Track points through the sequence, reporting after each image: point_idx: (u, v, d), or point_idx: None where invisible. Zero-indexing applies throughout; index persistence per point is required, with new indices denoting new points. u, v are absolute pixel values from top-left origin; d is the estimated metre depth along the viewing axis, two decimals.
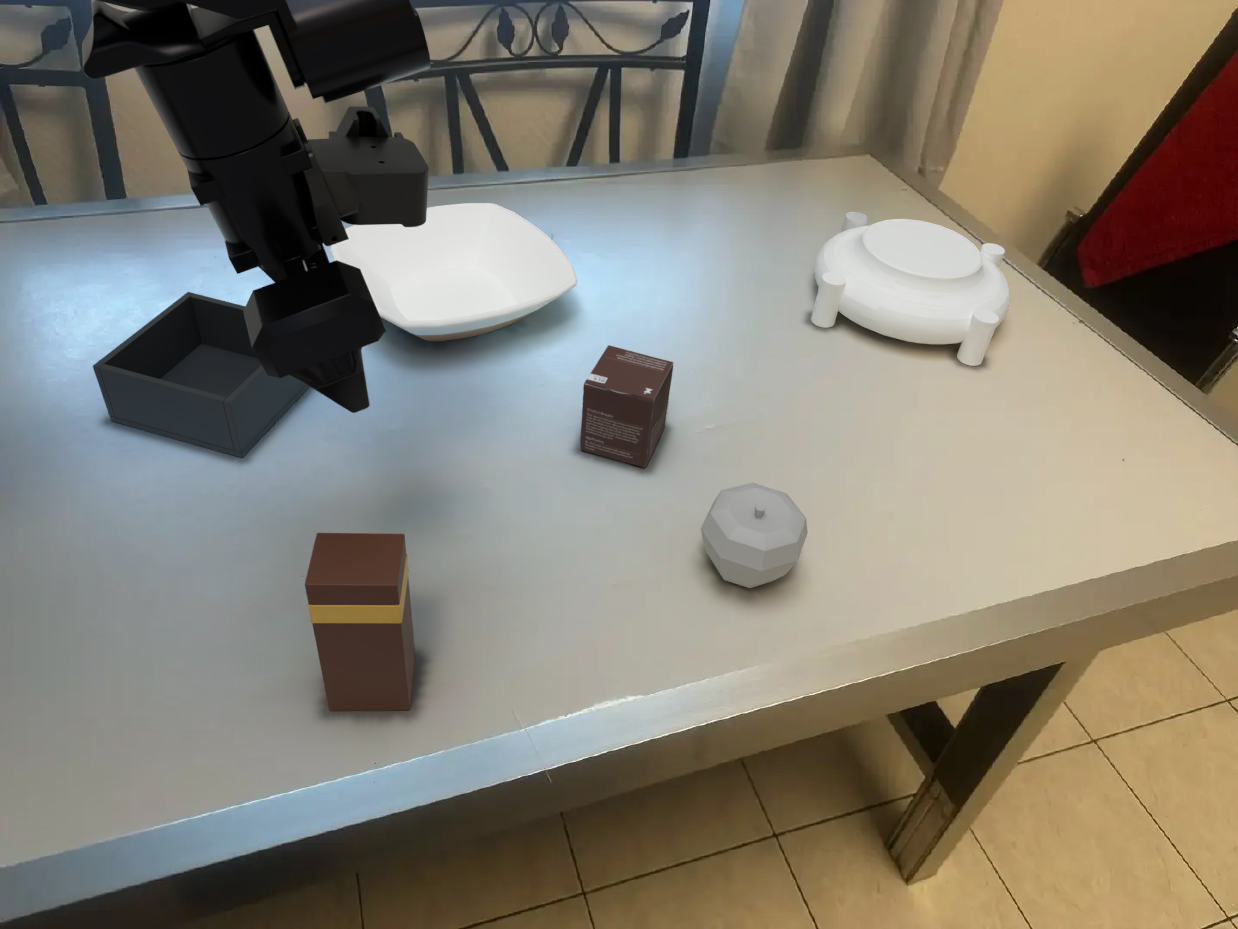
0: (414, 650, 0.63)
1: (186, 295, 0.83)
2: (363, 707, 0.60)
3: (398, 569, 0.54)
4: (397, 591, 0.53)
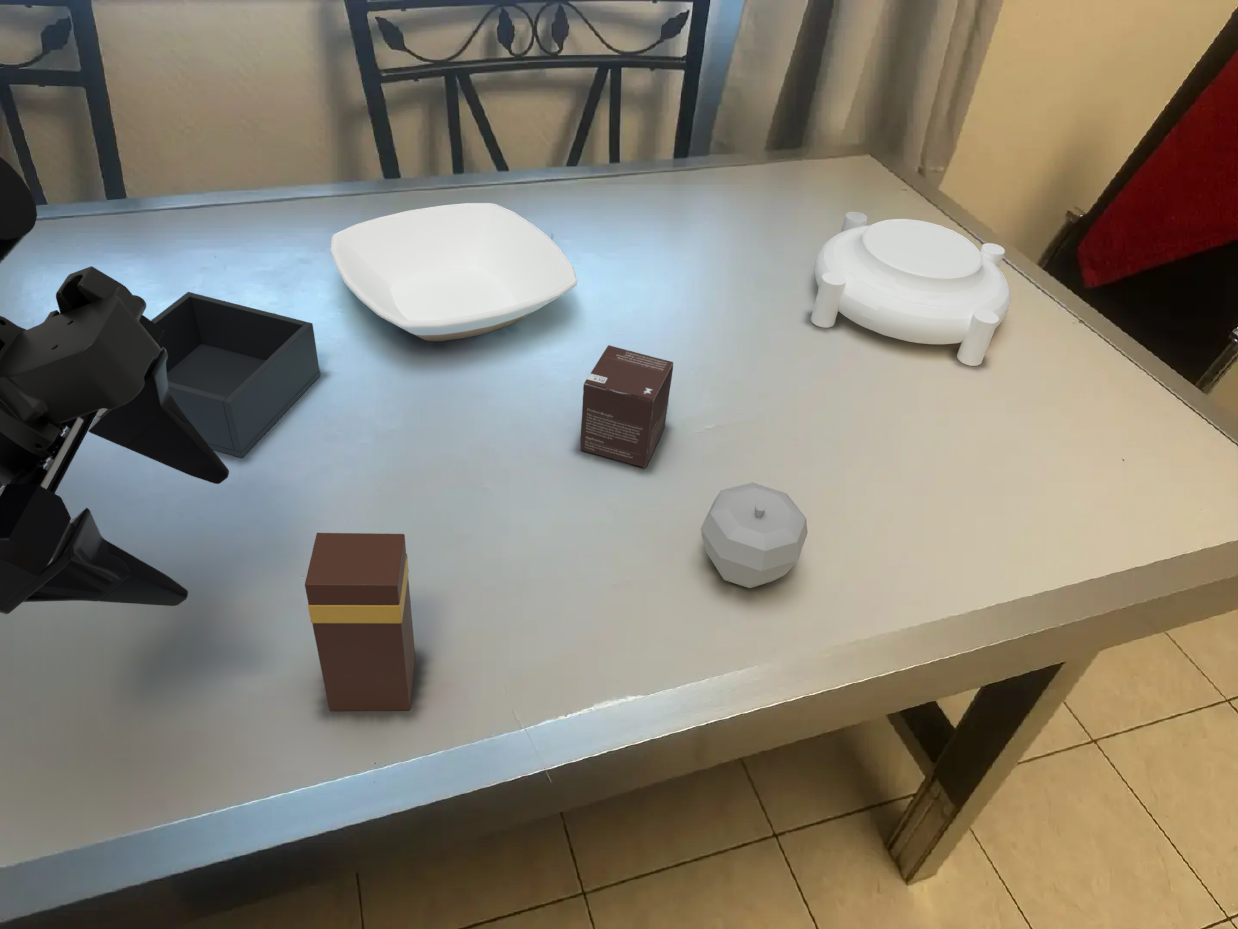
0: (414, 650, 0.63)
1: (186, 295, 0.83)
2: (363, 707, 0.60)
3: (398, 569, 0.54)
4: (397, 591, 0.53)
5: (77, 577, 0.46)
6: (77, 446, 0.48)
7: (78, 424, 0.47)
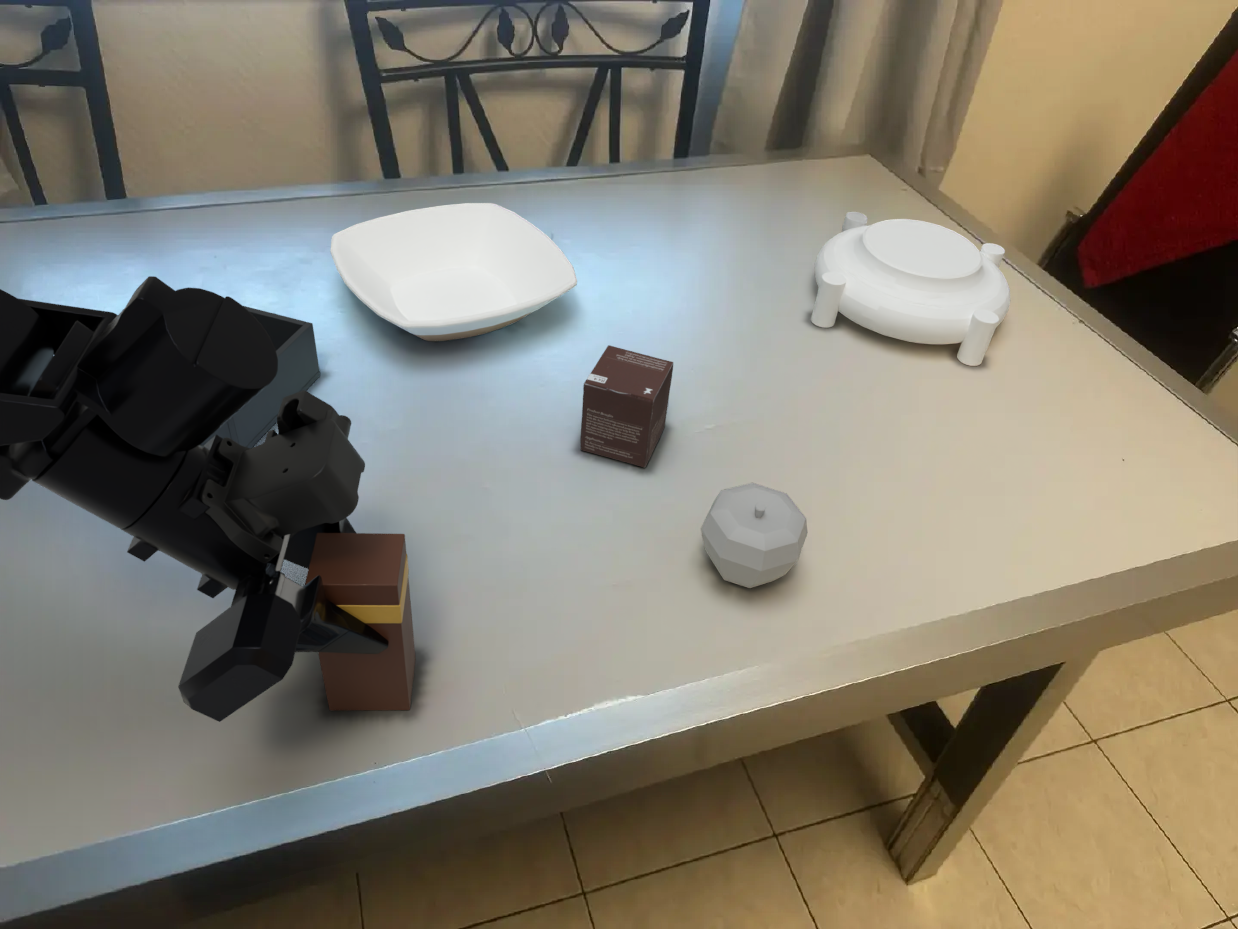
0: (414, 650, 0.63)
1: None
2: (363, 707, 0.60)
3: (398, 569, 0.54)
4: (397, 591, 0.53)
5: (304, 632, 0.53)
6: (285, 547, 0.53)
7: None
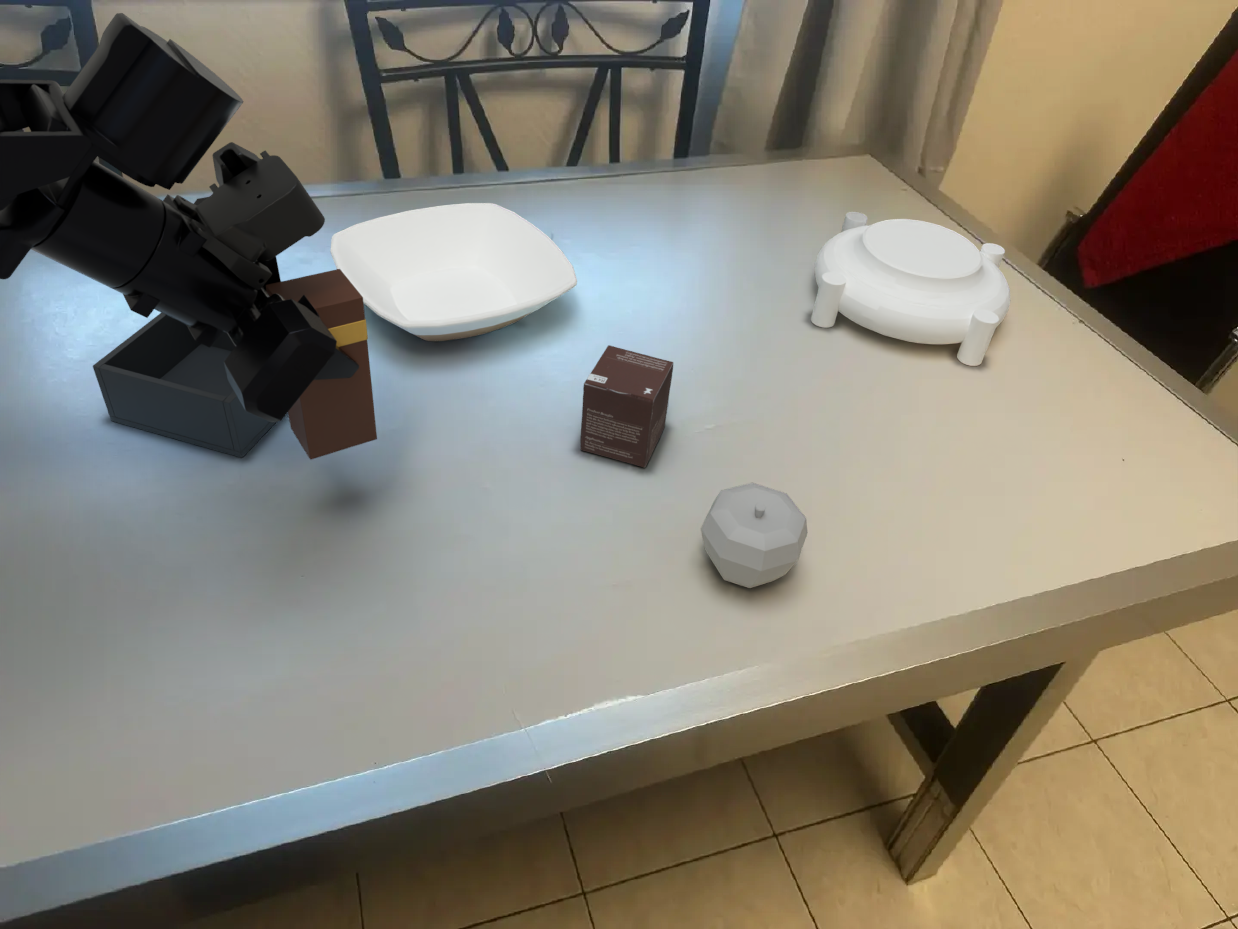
0: None
1: None
2: (338, 447, 0.68)
3: (355, 288, 0.62)
4: (363, 304, 0.62)
5: None
6: None
7: None
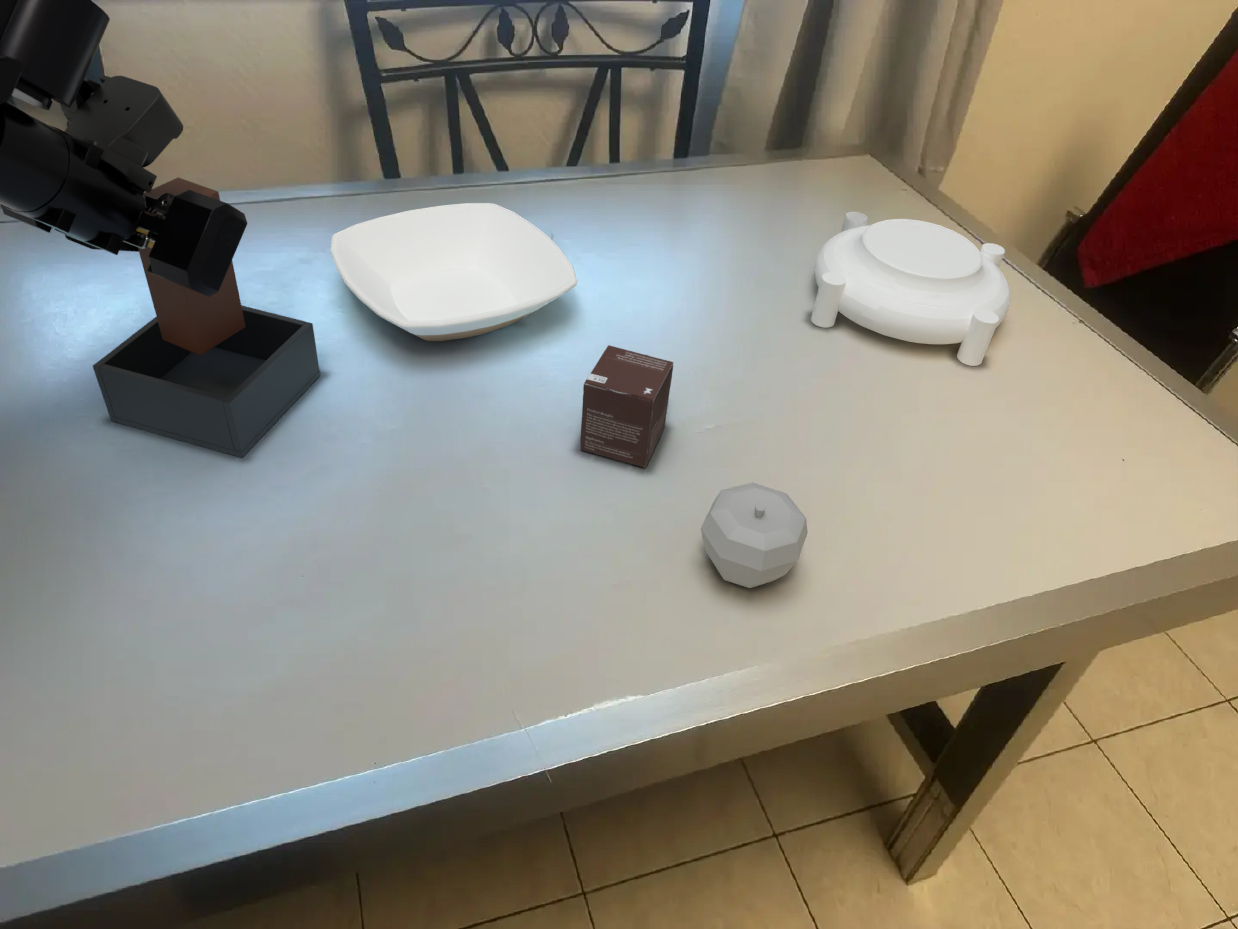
0: None
1: None
2: (219, 339, 0.77)
3: (205, 187, 0.71)
4: (219, 198, 0.72)
5: None
6: None
7: None
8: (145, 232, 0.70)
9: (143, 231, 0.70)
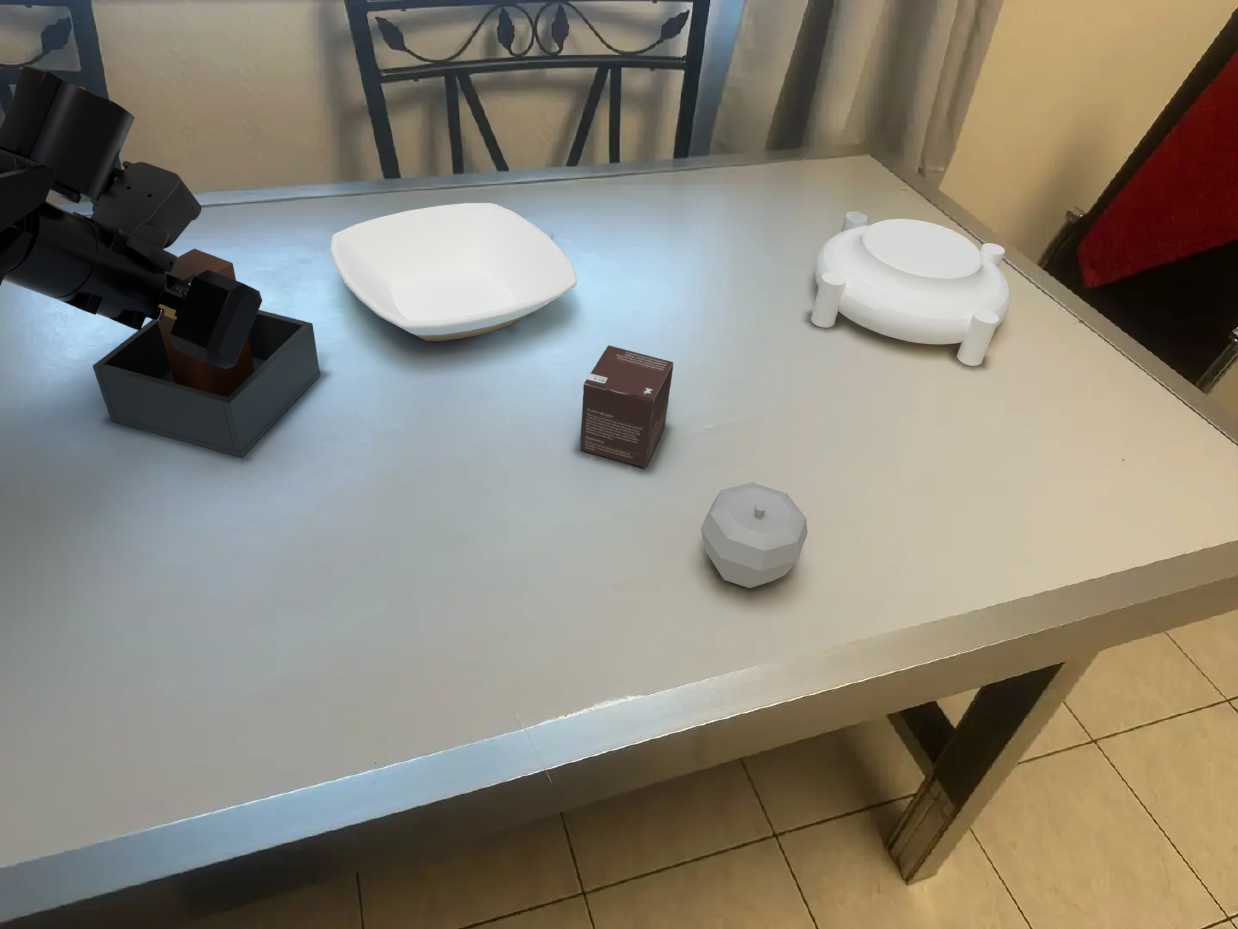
0: None
1: None
2: None
3: (220, 258, 0.75)
4: (233, 269, 0.75)
5: None
6: None
7: None
8: None
9: None
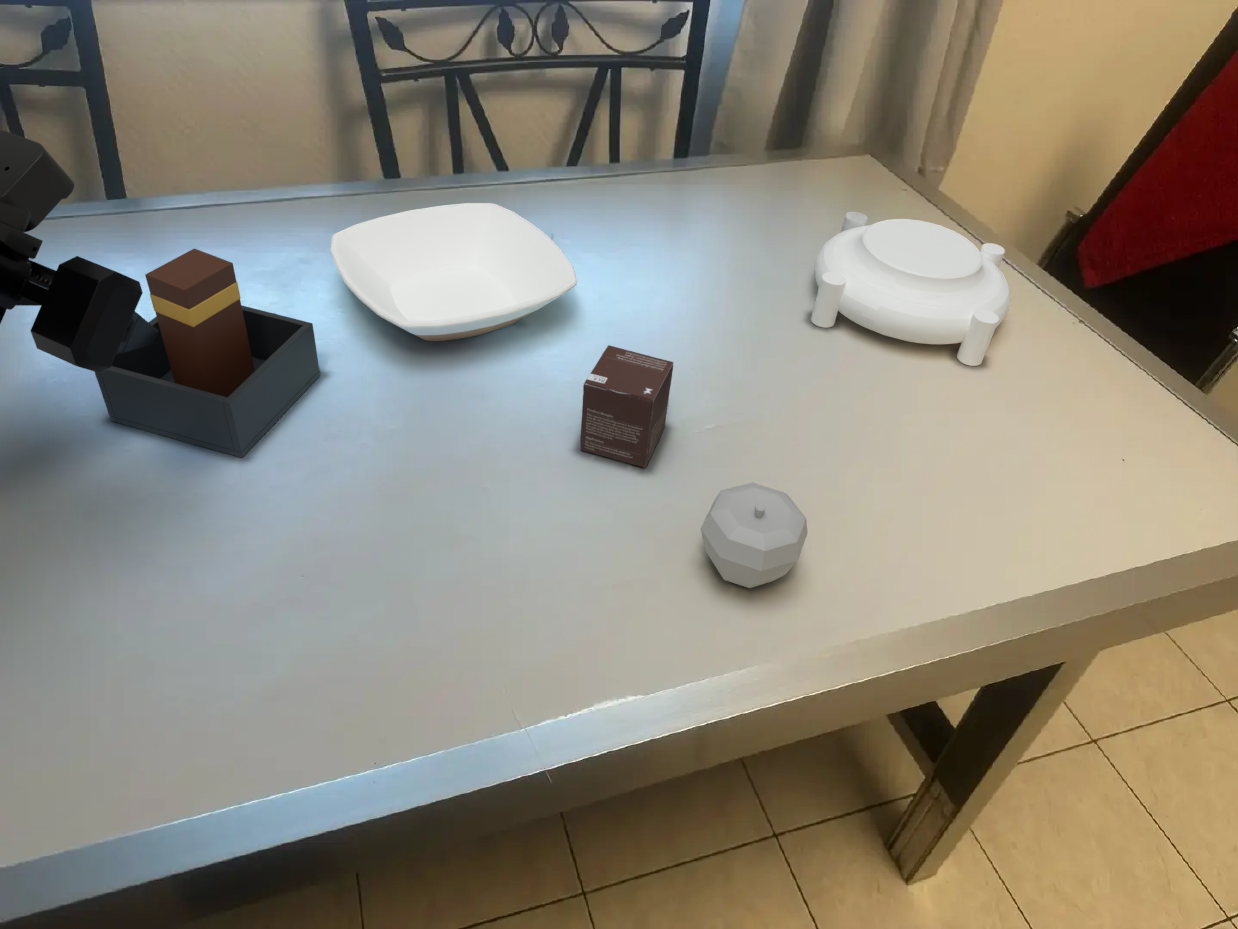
0: None
1: None
2: None
3: (220, 258, 0.75)
4: (233, 269, 0.75)
5: None
6: None
7: None
8: (164, 303, 0.74)
9: (162, 302, 0.74)
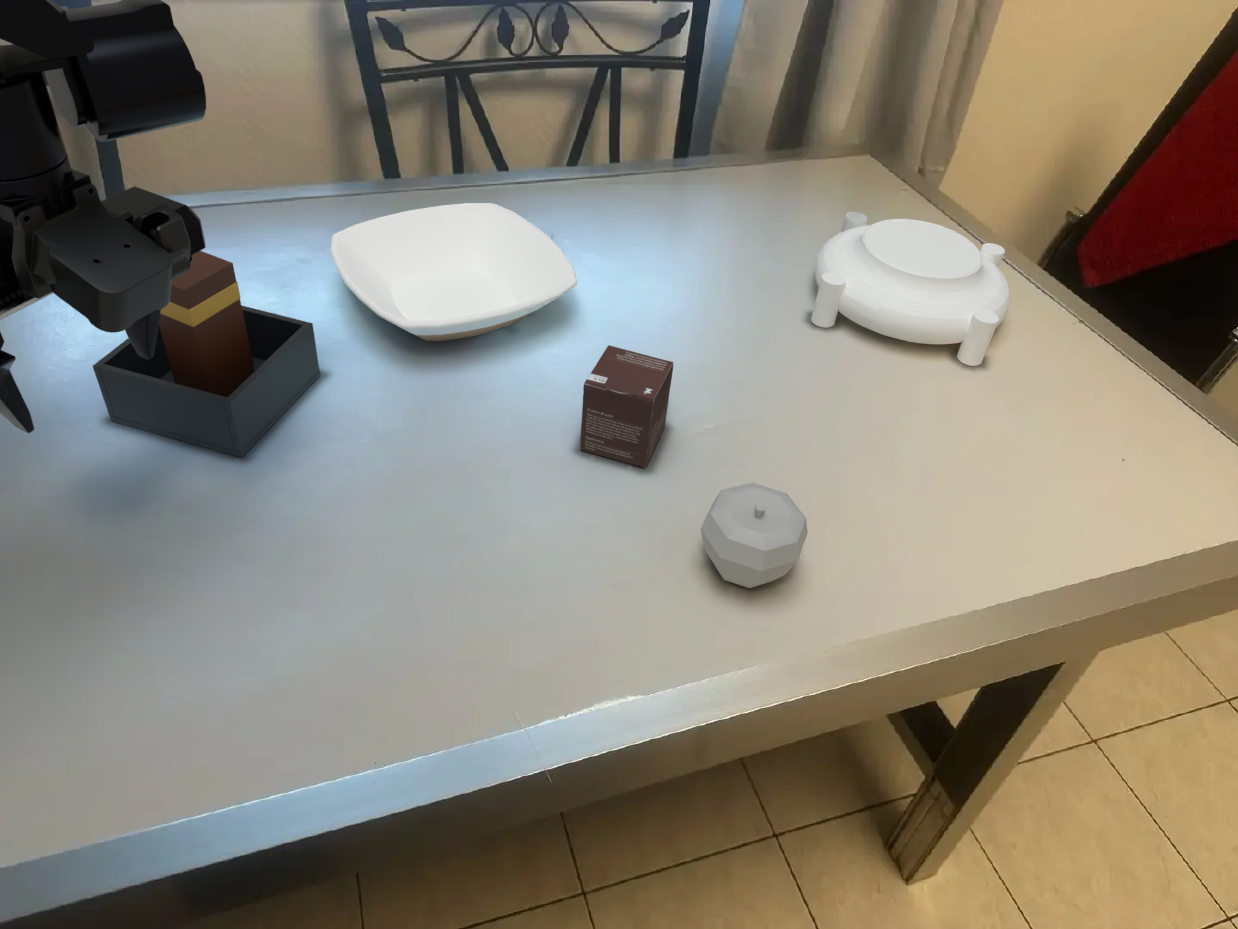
0: None
1: None
2: None
3: (220, 258, 0.75)
4: (233, 269, 0.75)
5: None
6: None
7: None
8: None
9: None
